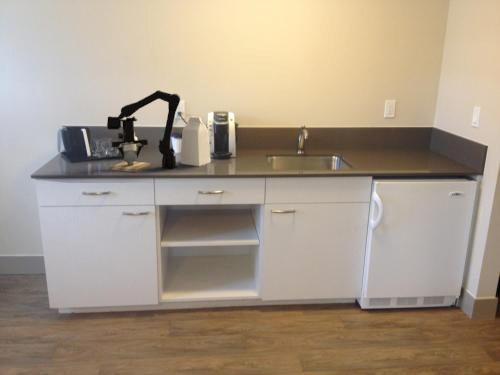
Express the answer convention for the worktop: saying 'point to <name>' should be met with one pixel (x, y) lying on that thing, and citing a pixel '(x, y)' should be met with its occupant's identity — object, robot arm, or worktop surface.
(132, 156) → the cap
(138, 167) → the base
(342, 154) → the worktop surface
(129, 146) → the pill bottle
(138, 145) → the robot arm
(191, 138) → the milk
